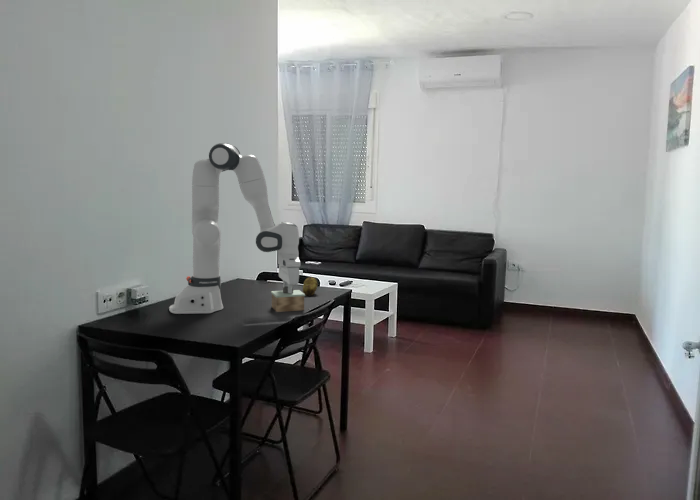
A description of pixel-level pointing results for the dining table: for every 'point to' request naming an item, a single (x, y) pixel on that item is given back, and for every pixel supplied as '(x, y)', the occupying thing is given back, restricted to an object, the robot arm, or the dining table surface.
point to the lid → (286, 294)
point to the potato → (310, 286)
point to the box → (287, 303)
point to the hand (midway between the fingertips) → (287, 291)
